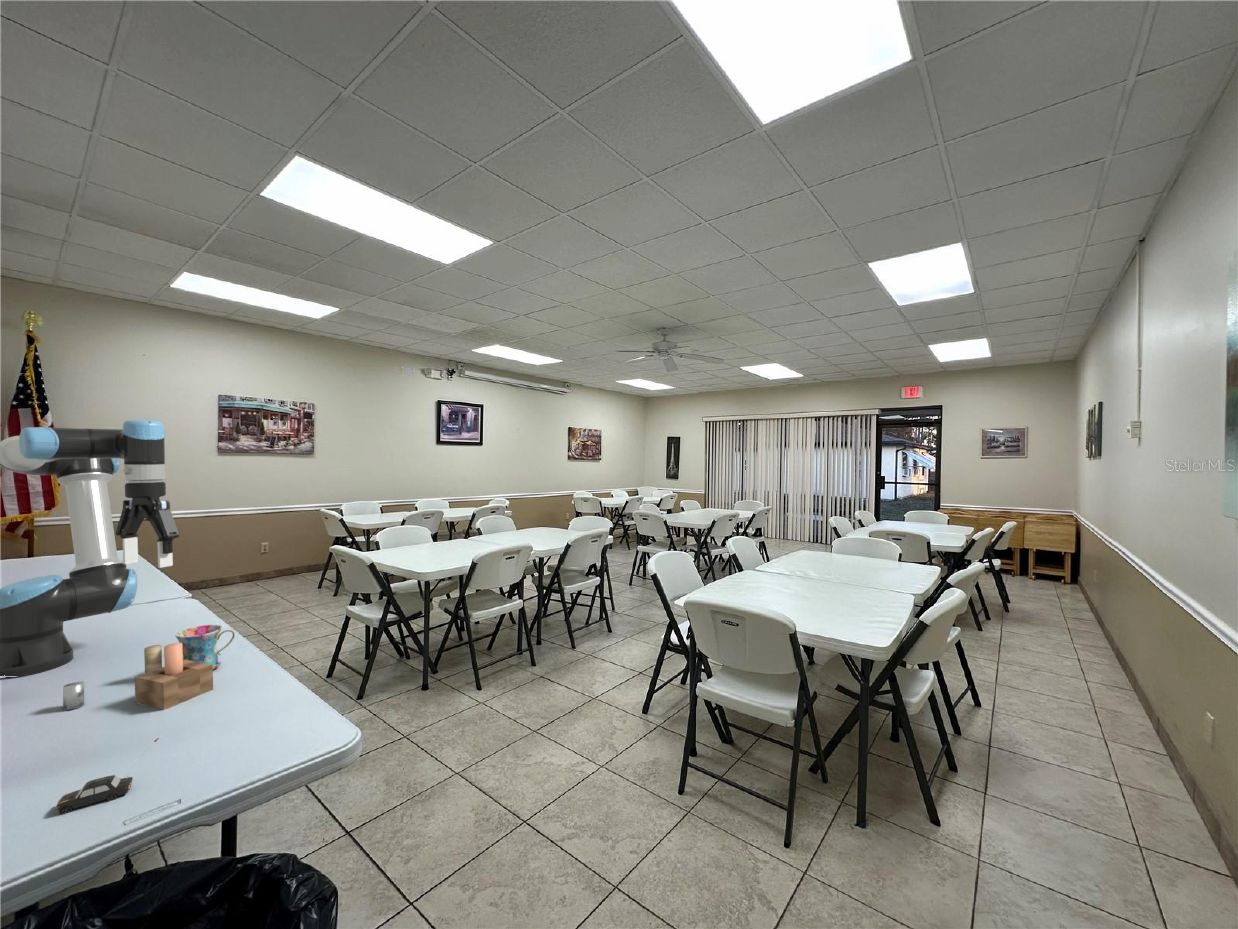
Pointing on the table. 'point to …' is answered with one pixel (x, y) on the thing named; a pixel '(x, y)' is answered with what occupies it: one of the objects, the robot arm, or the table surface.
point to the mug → (202, 644)
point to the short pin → (73, 695)
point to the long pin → (173, 659)
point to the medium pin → (153, 657)
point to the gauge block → (173, 685)
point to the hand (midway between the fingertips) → (147, 565)
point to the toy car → (95, 792)
